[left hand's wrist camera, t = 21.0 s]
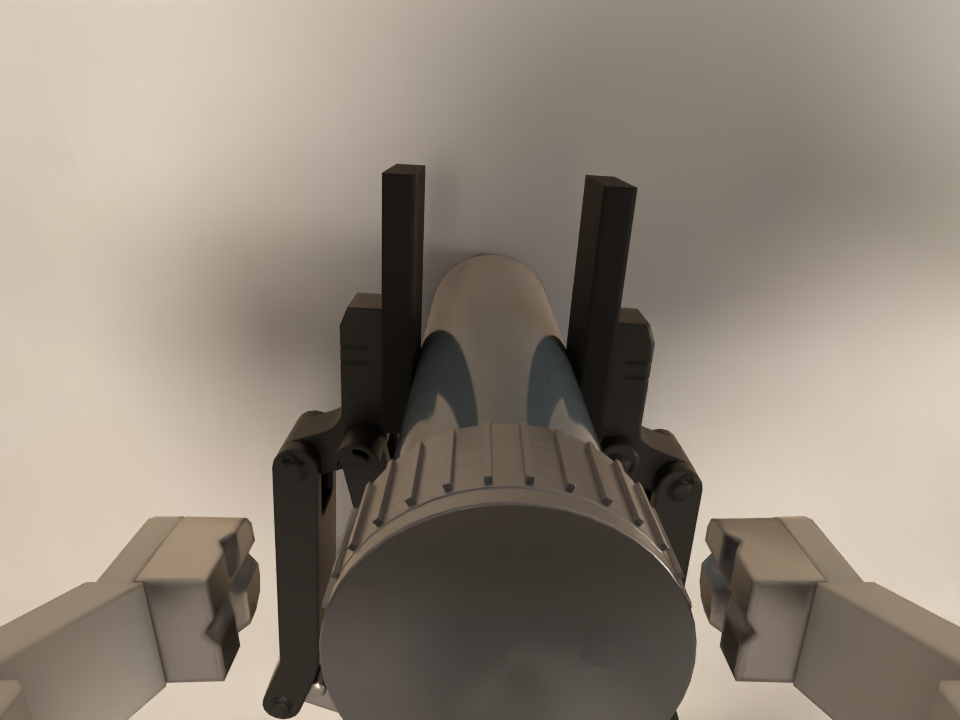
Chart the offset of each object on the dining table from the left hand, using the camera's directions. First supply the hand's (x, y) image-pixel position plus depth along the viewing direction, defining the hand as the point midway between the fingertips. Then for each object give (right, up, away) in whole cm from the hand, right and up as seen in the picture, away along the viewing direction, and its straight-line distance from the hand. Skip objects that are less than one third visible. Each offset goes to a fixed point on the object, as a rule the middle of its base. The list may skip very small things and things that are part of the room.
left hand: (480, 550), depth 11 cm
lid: (0, -1, -2) cm, 2 cm away
